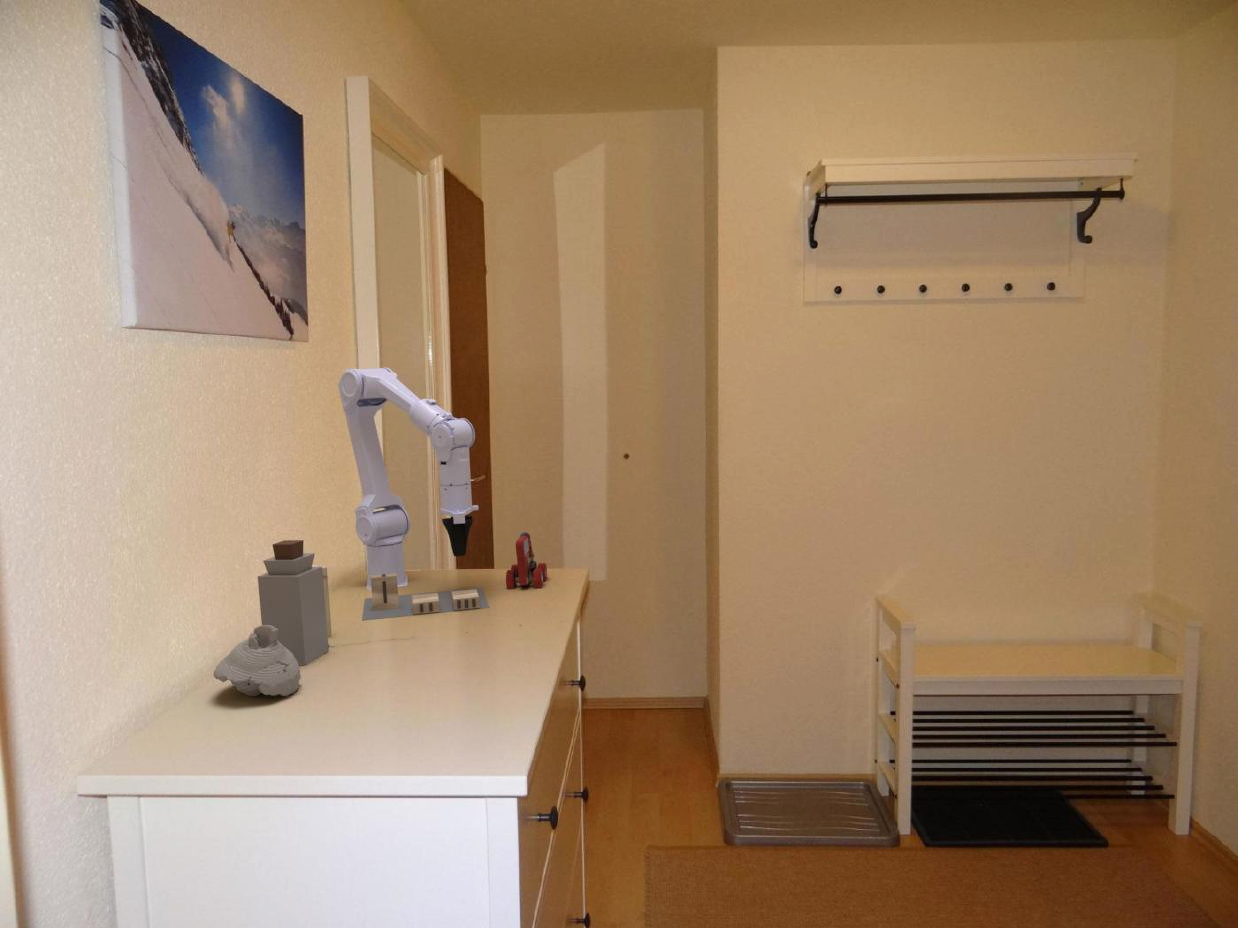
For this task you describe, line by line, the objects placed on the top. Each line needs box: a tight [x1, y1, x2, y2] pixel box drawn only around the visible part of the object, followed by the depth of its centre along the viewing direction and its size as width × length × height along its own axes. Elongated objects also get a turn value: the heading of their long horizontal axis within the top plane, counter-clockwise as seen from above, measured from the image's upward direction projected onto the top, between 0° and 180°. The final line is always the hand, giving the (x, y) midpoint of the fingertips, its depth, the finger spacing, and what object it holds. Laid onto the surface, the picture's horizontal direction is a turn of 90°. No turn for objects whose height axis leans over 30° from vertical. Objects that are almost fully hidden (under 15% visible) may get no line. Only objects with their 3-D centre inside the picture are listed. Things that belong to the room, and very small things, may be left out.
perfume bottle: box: [257, 539, 330, 666], centre depth 140 cm, size 7×7×18 cm
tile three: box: [451, 589, 480, 610], centre depth 165 cm, size 2×4×6 cm
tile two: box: [412, 593, 440, 614], centre depth 164 cm, size 2×4×6 cm
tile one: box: [370, 573, 399, 611], centre depth 166 cm, size 2×4×6 cm, turn 103°
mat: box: [361, 586, 490, 621], centre depth 169 cm, size 16×22×1 cm
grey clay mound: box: [213, 624, 302, 697], centre depth 126 cm, size 12×12×11 cm
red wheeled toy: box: [505, 531, 548, 590], centre depth 181 cm, size 7×12×10 cm, turn 177°
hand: (459, 555), depth 173 cm, fingers closed
